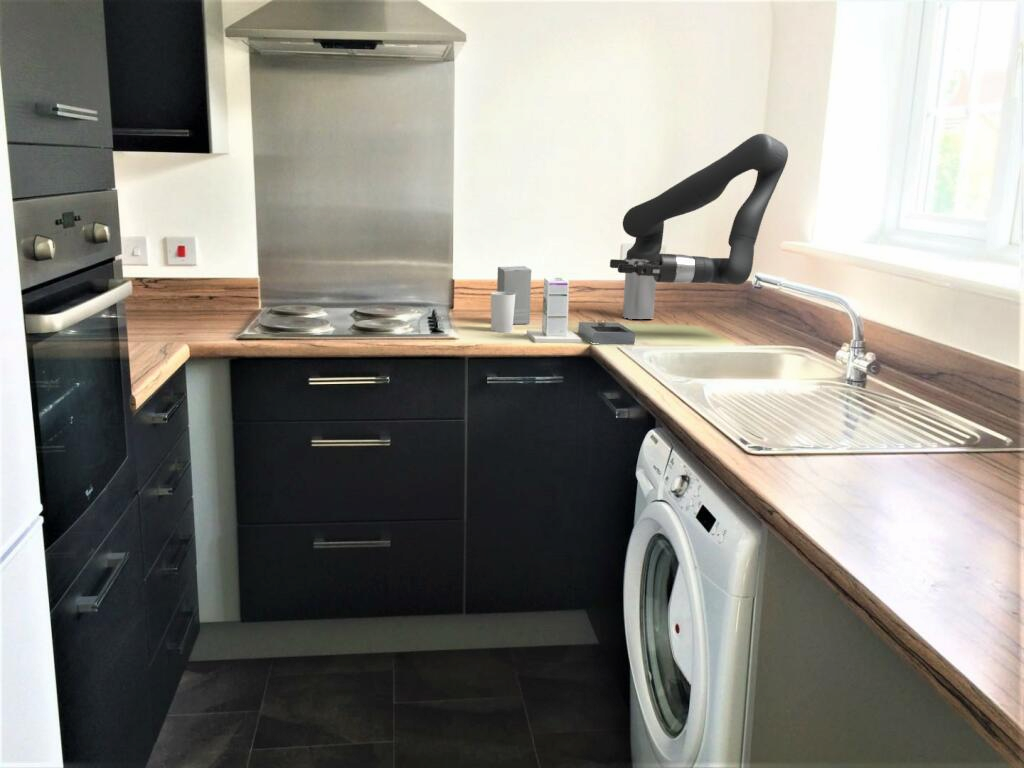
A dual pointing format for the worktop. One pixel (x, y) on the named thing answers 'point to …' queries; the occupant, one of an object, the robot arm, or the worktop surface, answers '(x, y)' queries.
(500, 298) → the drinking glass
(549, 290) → the syrup box
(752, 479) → the worktop surface
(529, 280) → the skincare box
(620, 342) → the dark grey tray
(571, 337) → the off-white mat
